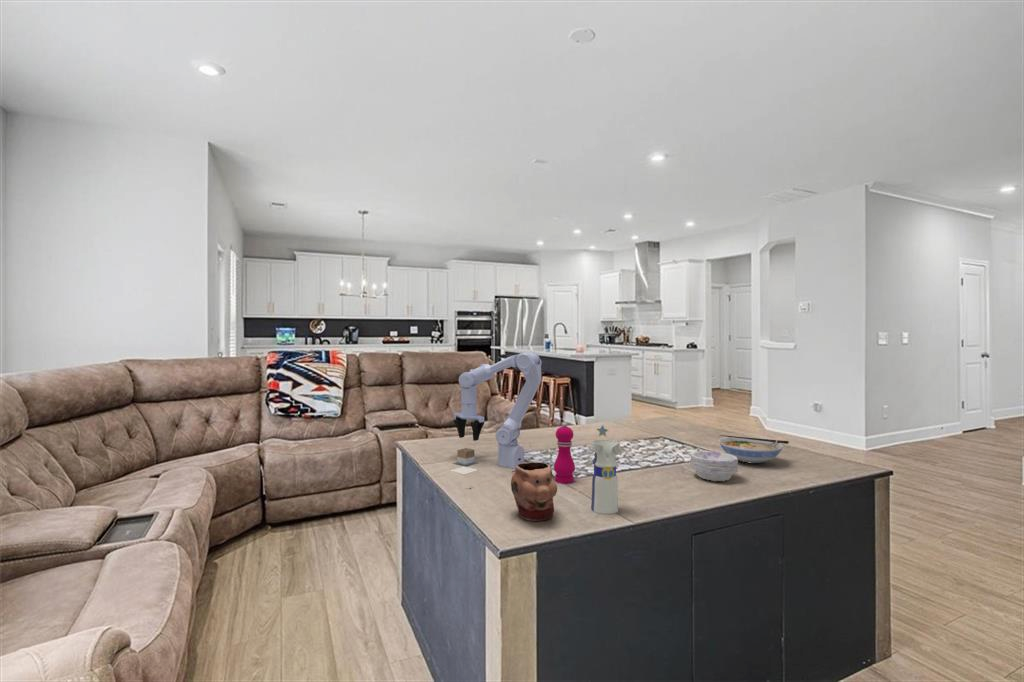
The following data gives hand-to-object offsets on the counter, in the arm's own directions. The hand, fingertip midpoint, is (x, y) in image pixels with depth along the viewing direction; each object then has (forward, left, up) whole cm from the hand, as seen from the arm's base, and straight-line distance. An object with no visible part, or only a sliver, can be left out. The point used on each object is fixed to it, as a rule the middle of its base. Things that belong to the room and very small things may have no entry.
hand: (468, 438), depth 191 cm
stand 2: (-8, +11, -9) cm, 17 cm away
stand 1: (-2, +4, -9) cm, 10 cm away
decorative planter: (-50, +26, -10) cm, 57 cm away
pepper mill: (-40, -5, -10) cm, 42 cm away
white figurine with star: (-64, +10, -10) cm, 66 cm away
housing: (-2, +4, -8) cm, 9 cm away
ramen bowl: (-82, -72, -10) cm, 110 cm away
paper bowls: (-78, -41, -10) cm, 89 cm away
